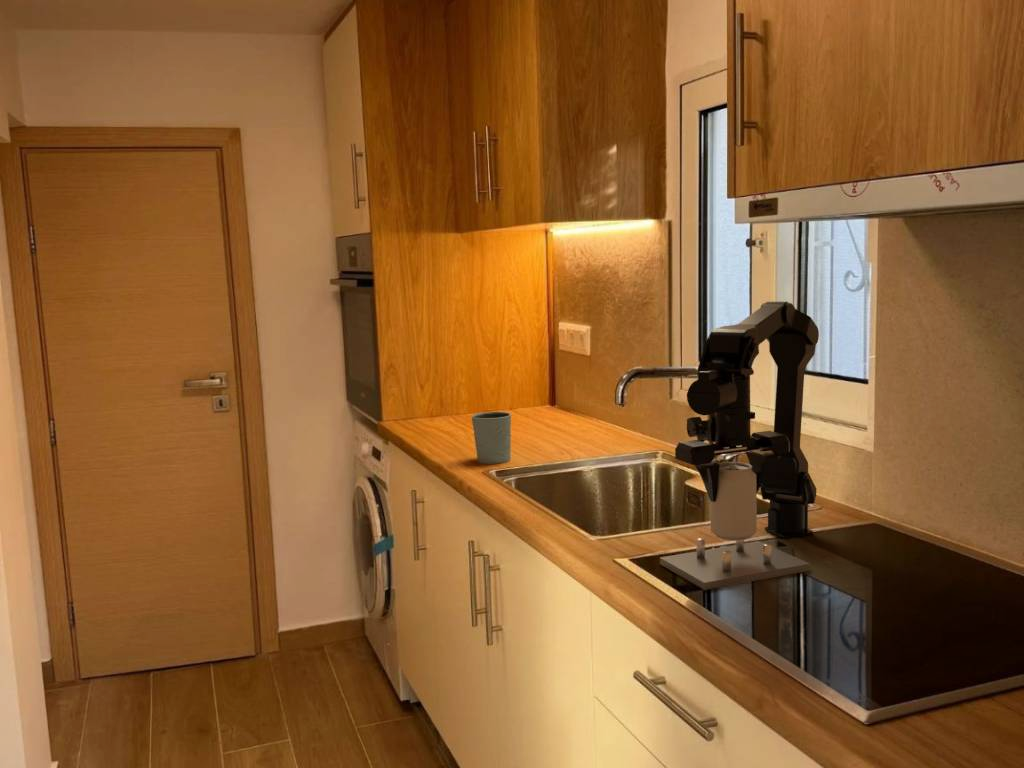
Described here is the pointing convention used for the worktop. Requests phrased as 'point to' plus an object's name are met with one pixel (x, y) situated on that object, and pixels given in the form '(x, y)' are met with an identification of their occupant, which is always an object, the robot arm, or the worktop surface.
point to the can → (735, 502)
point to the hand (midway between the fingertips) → (733, 498)
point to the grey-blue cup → (492, 437)
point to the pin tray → (732, 564)
